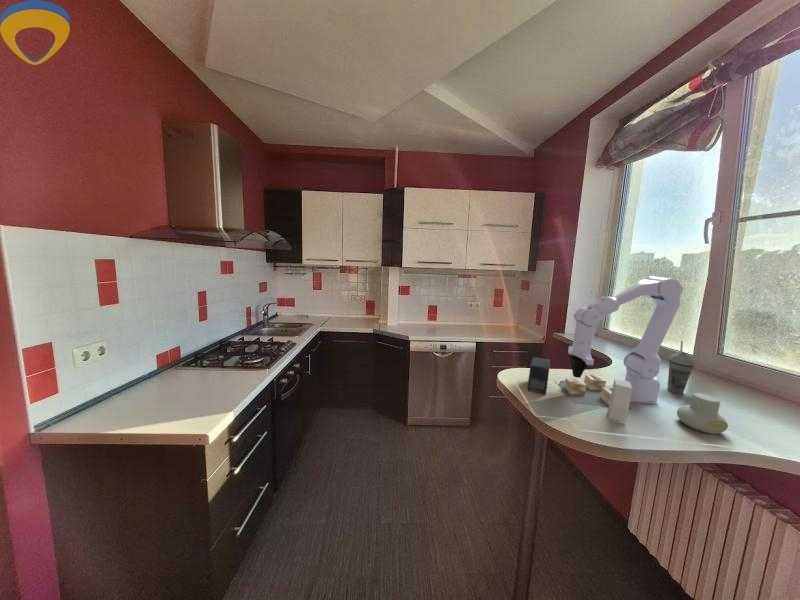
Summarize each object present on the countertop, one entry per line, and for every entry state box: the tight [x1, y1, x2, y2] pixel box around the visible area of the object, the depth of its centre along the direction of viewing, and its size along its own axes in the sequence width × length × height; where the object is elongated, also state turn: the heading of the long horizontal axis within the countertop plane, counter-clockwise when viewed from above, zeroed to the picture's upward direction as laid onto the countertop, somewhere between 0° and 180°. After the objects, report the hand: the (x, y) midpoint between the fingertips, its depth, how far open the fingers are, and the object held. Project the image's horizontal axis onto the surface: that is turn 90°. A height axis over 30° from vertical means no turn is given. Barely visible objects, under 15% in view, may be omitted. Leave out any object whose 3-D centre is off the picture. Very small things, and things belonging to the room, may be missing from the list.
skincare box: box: [607, 378, 632, 425], centre depth 92 cm, size 6×4×12 cm
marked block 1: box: [583, 373, 607, 391], centre depth 114 cm, size 5×5×4 cm
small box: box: [527, 356, 551, 396], centre depth 111 cm, size 11×6×10 cm, turn 152°
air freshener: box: [676, 392, 729, 435], centre depth 90 cm, size 11×8×10 cm
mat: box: [558, 379, 632, 410], centre depth 109 cm, size 18×19×1 cm
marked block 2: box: [600, 386, 613, 405], centre depth 103 cm, size 5×5×4 cm
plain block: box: [564, 377, 587, 395], centre depth 109 cm, size 5×5×4 cm
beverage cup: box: [667, 340, 695, 395], centre depth 114 cm, size 7×7×20 cm
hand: (576, 376), depth 109 cm, fingers closed
